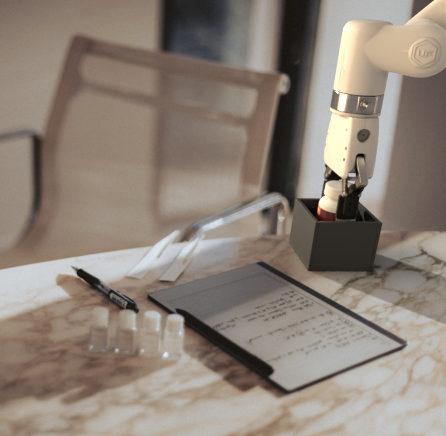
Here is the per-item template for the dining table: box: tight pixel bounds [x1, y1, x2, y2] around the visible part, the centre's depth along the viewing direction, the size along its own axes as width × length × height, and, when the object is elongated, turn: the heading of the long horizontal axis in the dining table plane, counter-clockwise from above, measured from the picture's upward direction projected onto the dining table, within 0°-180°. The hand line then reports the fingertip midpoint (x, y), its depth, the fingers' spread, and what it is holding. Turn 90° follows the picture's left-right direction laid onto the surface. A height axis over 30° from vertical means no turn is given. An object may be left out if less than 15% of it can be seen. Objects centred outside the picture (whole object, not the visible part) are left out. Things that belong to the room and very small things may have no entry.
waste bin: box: [288, 197, 383, 272], centre depth 105 cm, size 11×11×9 cm
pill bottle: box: [316, 180, 356, 222], centre depth 104 cm, size 6×6×11 cm
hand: (337, 209), depth 103 cm, fingers closed on pill bottle, 6 cm apart
